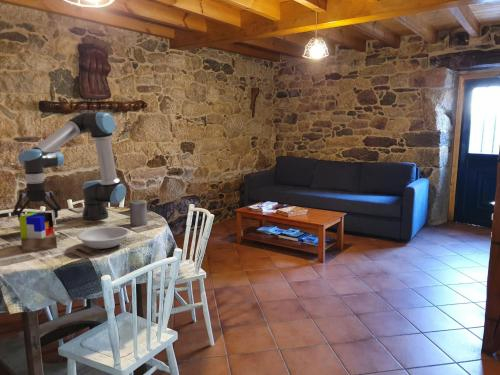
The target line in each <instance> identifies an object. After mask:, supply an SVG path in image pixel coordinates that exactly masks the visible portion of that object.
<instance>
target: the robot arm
mask: <svg viewBox="0 0 500 375" xmlns="http://www.w3.org/2000/svg"><path fill="white" fill-rule="evenodd" d="M115 129H116V121H115V119H114V117H113V115H111V113H109V112H104V111H92V112H91V111H90V112H89V111H86V112H82V113H79V114H77V115H75V116H73V117H72V118H70V119H68V120H67V121H65V123H64V126H62V127H61V128H59V129H58V130H57V131H55V132H53V133H52V134H51V135H49V136H48V137H46V138H45V139H44V140H42V141H41V142H40V143H38V144H37V145H35V146H34V147H32V148H29V149H28V148H27V149H24V150H22V151H20V152H19V153H18V156H17V159H18V160H17V161H18V162H19V164H20V165H22V166H23V167H24V174H25V175H24V176H25V177H24V178H25V182H26V183H25V187H26V193H23V192H20V193H19V196H18V200H17V202H16V204H15V207H14V209H13V211H12V213H13V214H16V215H17V220H18V221H19V217H21V216H24V212H23V211H24V210H25V209H26V207H28V205H29V204H30V203H31V202H32V203H36V202H39V203H40V202H43V203H44V204H46V205H47V207H49V208H50V209H51V210H52V218H53V226H56V225H57V221H56V219H57V218H58V216H59V214H58V212H59V211H61V210H62V206H61V204H60V203H59V202H58V200H57V198H56V197H55V195H54V194H53V193H54V192H53V191H52V190H50V191H48V192H47V191H46V189H45V187H46V186H45V182H44V181H45V176H44V169H49V168H57V167H61V166H63V164H64V163H65V156H64V154H63V153H62V152H60V151H57V150H58V149H60V148H61V147H62V146H64V145H65V144H66V143H68V142H69V141H71V140H72V139H73V138H74V137H78V136H80V135H83V134H87V133H89V134H90V137H91V139H93V140H94V143H95V149H96V155H97V160H98V165H99V170H100V171H99V172H100V175H101V176H100V177H101V179H96V180H90V181H84V182H83V184H82V185H83V186H82V192H83V202H84V206H83V211H82V214H81V217H82V218H81V219H82V220H85V221H99V220H100V221H101V220H104V219H107V218H109V212H108V209H107V207H106V204H105V203H110V204H120V203H121V202H123V201H124V199H125V197H126V195H127V188H126V186H125V185H124V184H123V183H121V179H120V178H119V177H118V176H117V169H116V164H115V157H114V152H113V146H112V140H111V138H112V137H113V133H114V132H115ZM46 196H48V197H49V198H50V199H51V201H52V202H53V204H52V203H51V202H50V201H49V199H47V198H46ZM25 197H27V201H26V202H25V203H24V204H23V205H22V207H21V208H20V209H19V207H20V205H21V203H22V202H23V199H24V198H25Z"/></svg>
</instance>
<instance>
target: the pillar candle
mask: <svg viewBox="0 0 500 375" xmlns="http://www.w3.org/2000/svg"><path fill="white" fill-rule="evenodd" d="M128 202H129V204H128V205H129V221H130V226H131V227H143V226H142V225H144V226H146V225H145V224H147V225H148V206H147V205H148V204H147V200H146V199H145V200H144V199H134V200H130V201H128Z"/></svg>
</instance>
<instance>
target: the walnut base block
mask: <svg viewBox="0 0 500 375" xmlns="http://www.w3.org/2000/svg"><path fill="white" fill-rule="evenodd" d="M20 241H21V242H20V243H21V249H22V253H23V254H25V253H32V252H38V251H44V250H45V251H46V250H51V249H57V248H58V244H57V236H56V233H55V231H54V232H53V233H52V234H50V235H48V236H46V237H44V238H42V239H38V238H21V237H20Z"/></svg>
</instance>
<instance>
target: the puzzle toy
mask: <svg viewBox="0 0 500 375" xmlns="http://www.w3.org/2000/svg"><path fill="white" fill-rule="evenodd" d="M18 222H19V231H20V239H21V238H38V239H42V238H44V237H46V236H48V235H50V234H52V233H53V232H54V233H55V230H54V222H53V212H43V211H41V212H40V211H39V212H36V211H33V212H29V213H26V214H23V216H21V217H19V220H18Z"/></svg>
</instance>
